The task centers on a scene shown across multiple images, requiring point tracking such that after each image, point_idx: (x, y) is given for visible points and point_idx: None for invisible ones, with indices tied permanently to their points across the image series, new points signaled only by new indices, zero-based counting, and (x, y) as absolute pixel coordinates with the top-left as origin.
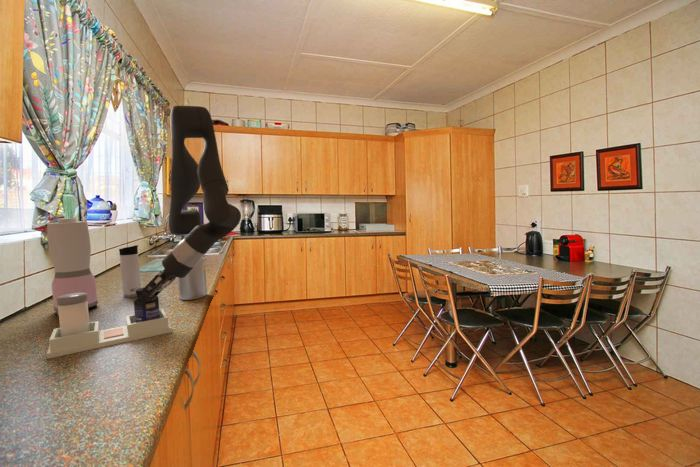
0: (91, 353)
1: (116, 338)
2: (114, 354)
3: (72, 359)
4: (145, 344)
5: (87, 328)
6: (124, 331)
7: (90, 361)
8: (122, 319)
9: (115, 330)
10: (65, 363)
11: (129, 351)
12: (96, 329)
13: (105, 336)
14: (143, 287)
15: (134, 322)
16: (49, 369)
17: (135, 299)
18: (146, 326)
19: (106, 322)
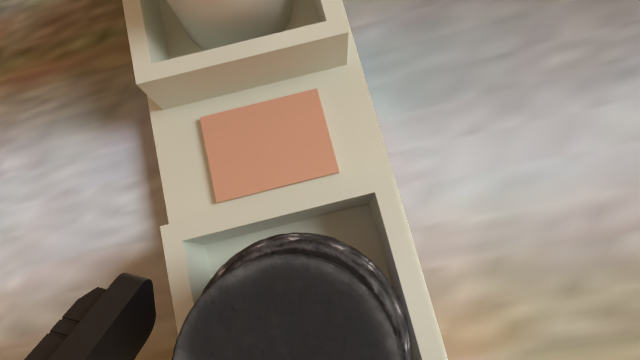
0: (100, 107)
1: (177, 178)
2: (29, 209)
3: (69, 54)
4: None
5: (196, 19)
6: (281, 193)
7: (2, 131)
8: (608, 115)
9: (301, 144)
10: (38, 43)
11: (30, 270)
12: (165, 69)
13: (219, 119)
14: (388, 330)
15: (378, 224)
16: (6, 8)
17: (251, 255)
18: None
19: (577, 44)
